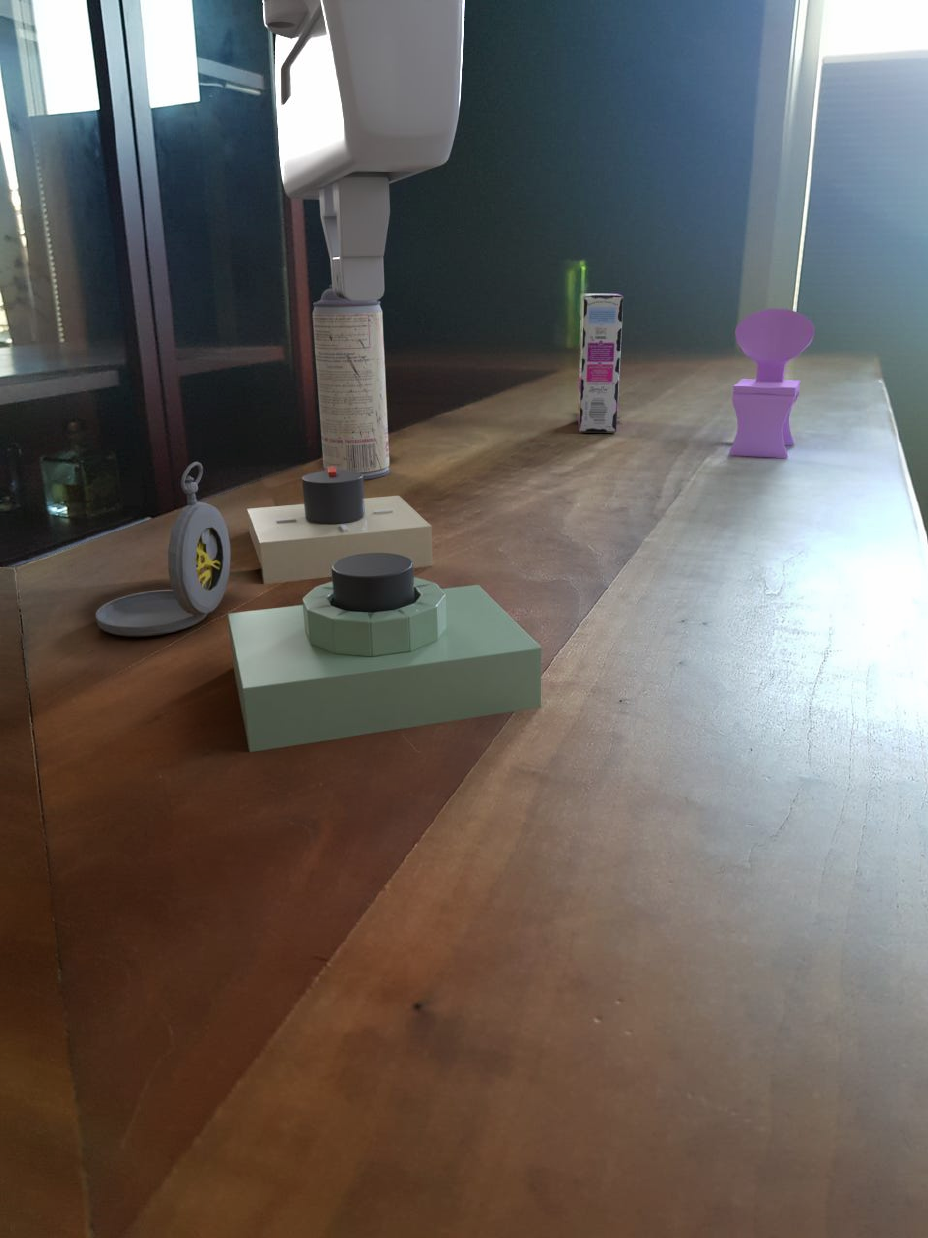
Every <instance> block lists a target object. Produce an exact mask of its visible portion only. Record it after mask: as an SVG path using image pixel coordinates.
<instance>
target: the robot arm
mask: <svg viewBox="0 0 928 1238" xmlns="http://www.w3.org/2000/svg"><path fill="white" fill-rule="evenodd" d="M262 3H263V5H262V12H263V24H264V27H265V28H266V29H267V30H268V31H269V32H271V33H272V34H274V35H275V51H274V53H275V55H274V57H275V59H274V61H275V62H274V63H275V64H274V68H275V69H274V73H275V75H274V76H275V95H276V116H277V128H278V129H277V131H278V147H279V162H280V163H279V164H280V172H281V173H280V174H281V181H282V184H283V189H284V193H285V195H286V196H287V197H288V198H289V199H291V200H319V211H320V213H319V215H320V221H321V225H322V229H323V234H324V239H325V243H326V247H327V252H328V256H329V260H330V274H331V285H332V290H333V292H334V295H335V296H337V297H338V298H340V299H342V300H349V301H376V300H377V301H379V300H381V298H382V297H384V295H385V272H384V271H385V267H384V256H385V250H386V244H387V235H388V227H389V222H390V216H391V203H390V200H391V197H390V184H393V183H395V182H399V181H401V180H403V179H408V178H409V177H412V176H415V175H417V174H420V173H422V172H423V173H424V172H425V171H426V172H427V171H428V170H431V169H435V168H437V167H441V166H442V165H445V164H446V163H447V161H448V160H449V158H450V155H451V152H452V148H453V145H454V140H455V136H456V134H457V133H456V132H457V129H458V128H457V127H458V122H459V115H460V107H461V95H462V94H461V93H462V73H463V71H462V69H463V51H464V50H463V49H464V21H465V18H464V17H465V0H262Z"/></svg>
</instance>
